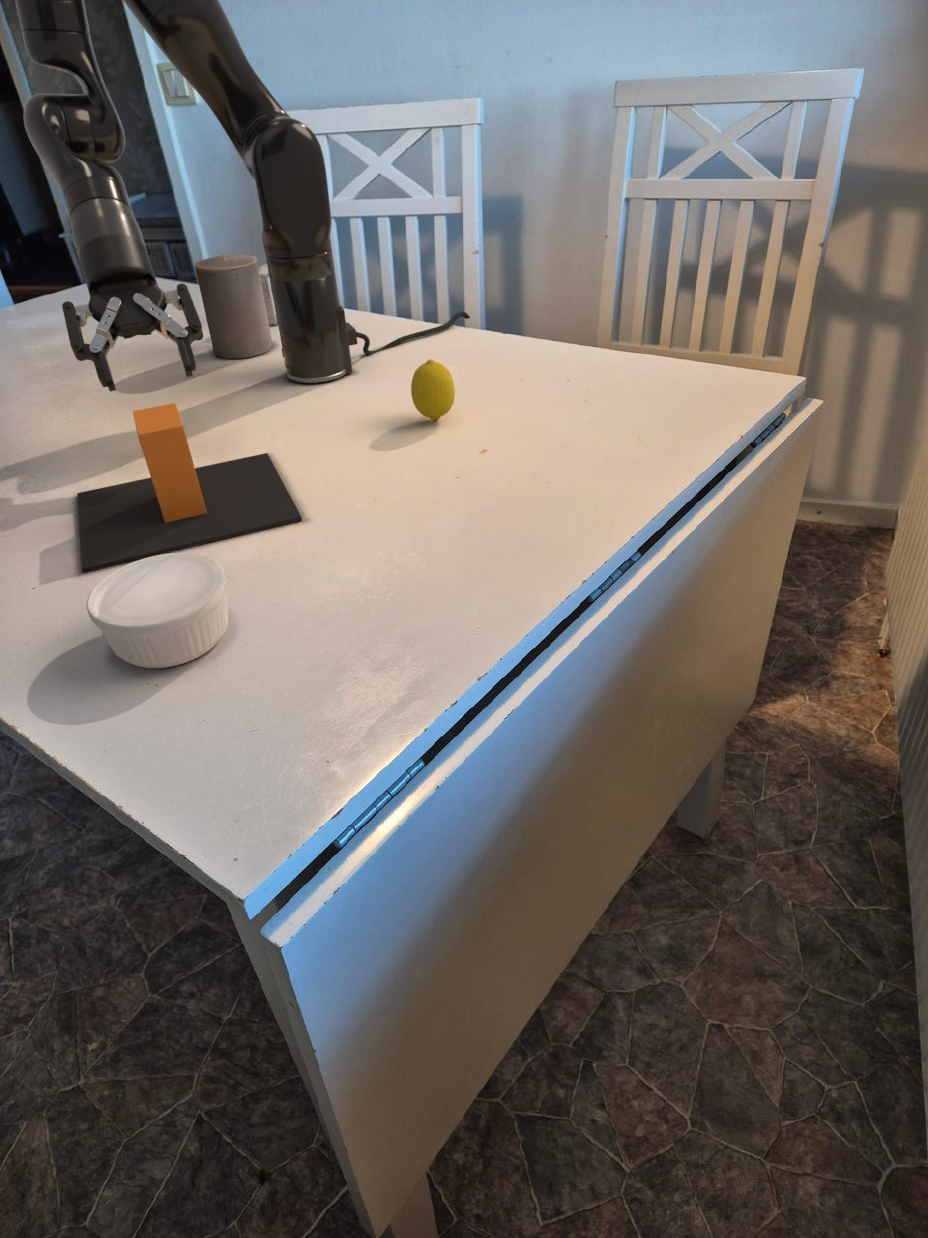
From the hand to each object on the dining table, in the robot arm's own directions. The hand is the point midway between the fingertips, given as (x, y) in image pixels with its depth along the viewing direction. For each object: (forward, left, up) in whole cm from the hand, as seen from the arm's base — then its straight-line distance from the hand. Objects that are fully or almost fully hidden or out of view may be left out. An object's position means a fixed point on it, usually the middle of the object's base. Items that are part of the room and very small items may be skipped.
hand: (151, 380), depth 92 cm
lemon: (-33, +2, -11) cm, 35 cm away
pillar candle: (-16, -42, -11) cm, 46 cm away
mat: (0, +11, -11) cm, 16 cm away
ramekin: (+4, +35, -11) cm, 37 cm away
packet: (+1, +11, -10) cm, 15 cm away
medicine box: (-24, -57, -11) cm, 62 cm away
